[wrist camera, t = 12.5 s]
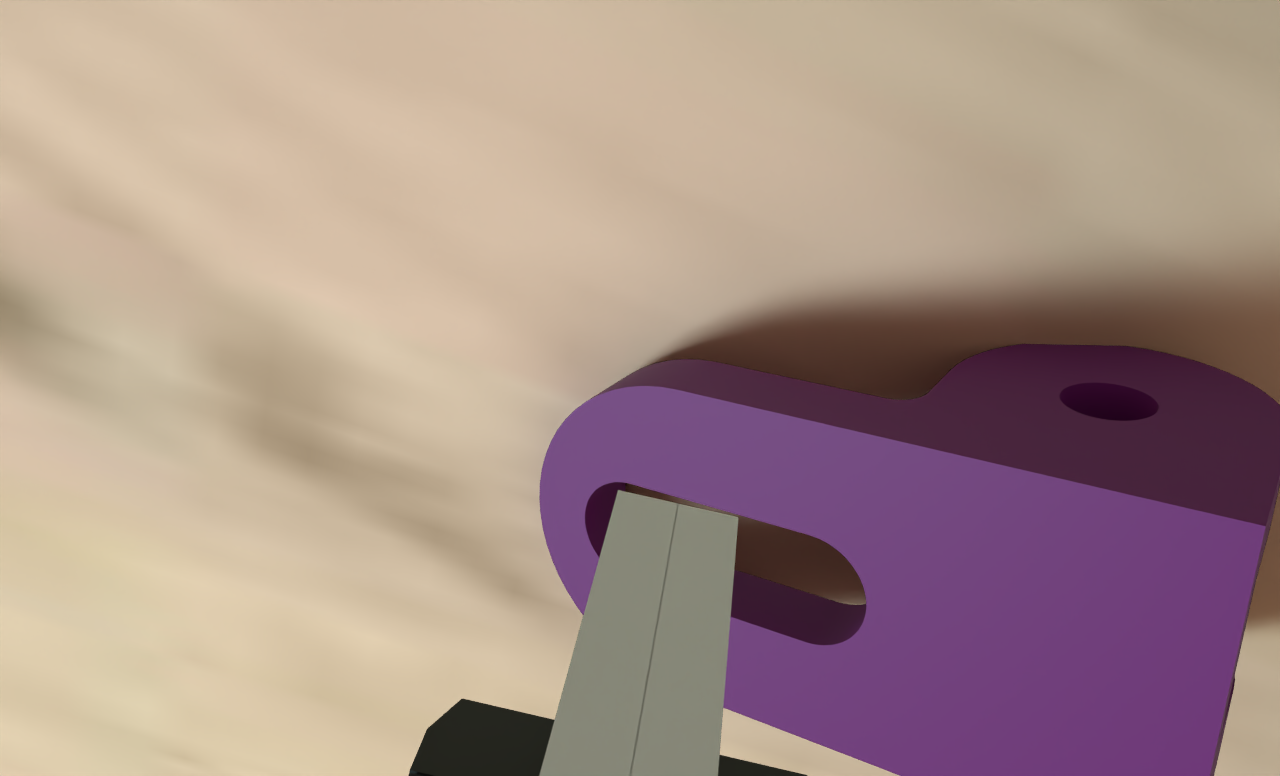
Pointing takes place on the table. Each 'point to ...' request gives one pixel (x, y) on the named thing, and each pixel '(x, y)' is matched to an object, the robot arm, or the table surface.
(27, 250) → the table surface
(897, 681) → the mounting bracket
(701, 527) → the robot arm
